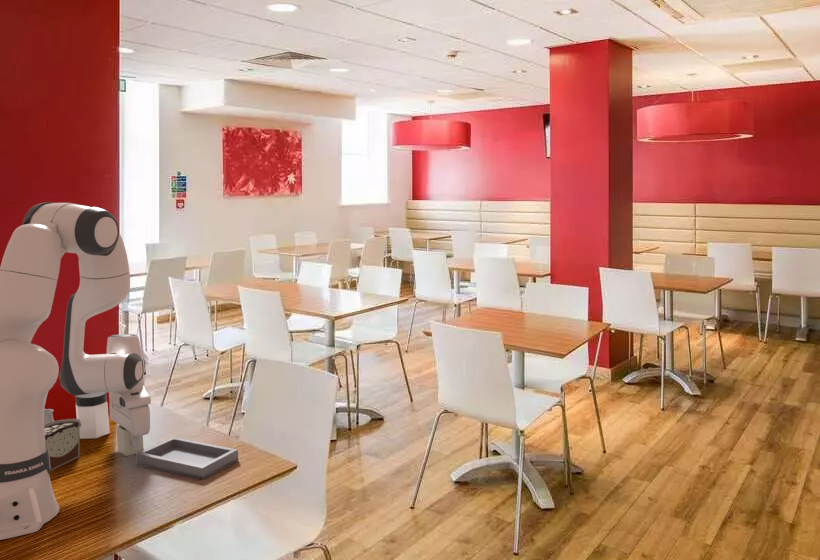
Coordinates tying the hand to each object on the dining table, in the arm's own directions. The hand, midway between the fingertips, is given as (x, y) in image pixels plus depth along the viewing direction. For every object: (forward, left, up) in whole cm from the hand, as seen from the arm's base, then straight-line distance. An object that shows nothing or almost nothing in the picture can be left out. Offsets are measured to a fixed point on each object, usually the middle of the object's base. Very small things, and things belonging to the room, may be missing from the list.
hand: (130, 443), depth 186 cm
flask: (-15, +20, -3) cm, 25 cm away
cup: (0, 0, -2) cm, 2 cm away
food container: (-17, +6, -3) cm, 18 cm away
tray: (+8, -18, -2) cm, 20 cm away
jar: (-3, +21, -3) cm, 21 cm away
